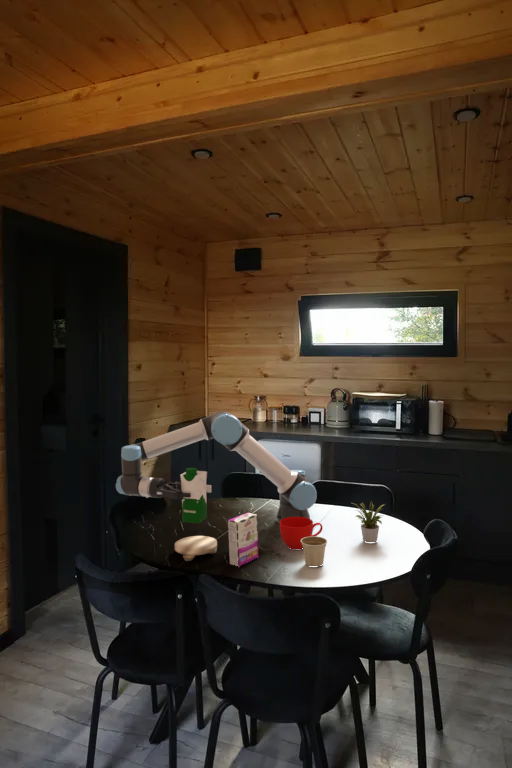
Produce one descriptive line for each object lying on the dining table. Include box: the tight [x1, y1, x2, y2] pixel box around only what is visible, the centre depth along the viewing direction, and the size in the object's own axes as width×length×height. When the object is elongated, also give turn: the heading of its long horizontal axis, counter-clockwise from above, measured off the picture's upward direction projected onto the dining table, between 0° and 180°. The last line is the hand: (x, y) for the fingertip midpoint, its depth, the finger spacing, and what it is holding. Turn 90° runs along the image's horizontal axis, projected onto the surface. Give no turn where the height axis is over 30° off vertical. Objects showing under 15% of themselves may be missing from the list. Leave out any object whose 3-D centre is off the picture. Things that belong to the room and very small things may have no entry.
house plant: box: [351, 500, 386, 543], centre depth 207 cm, size 14×14×16 cm
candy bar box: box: [227, 512, 260, 568], centre depth 190 cm, size 11×5×16 cm, turn 139°
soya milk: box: [179, 467, 208, 524], centre depth 198 cm, size 9×9×20 cm
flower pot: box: [301, 535, 328, 567], centre depth 186 cm, size 9×9×9 cm
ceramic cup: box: [279, 517, 323, 550], centre depth 203 cm, size 13×17×10 cm
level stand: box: [174, 535, 218, 562], centre depth 199 cm, size 16×16×4 cm
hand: (205, 492), depth 196 cm, fingers closed on soya milk, 9 cm apart
